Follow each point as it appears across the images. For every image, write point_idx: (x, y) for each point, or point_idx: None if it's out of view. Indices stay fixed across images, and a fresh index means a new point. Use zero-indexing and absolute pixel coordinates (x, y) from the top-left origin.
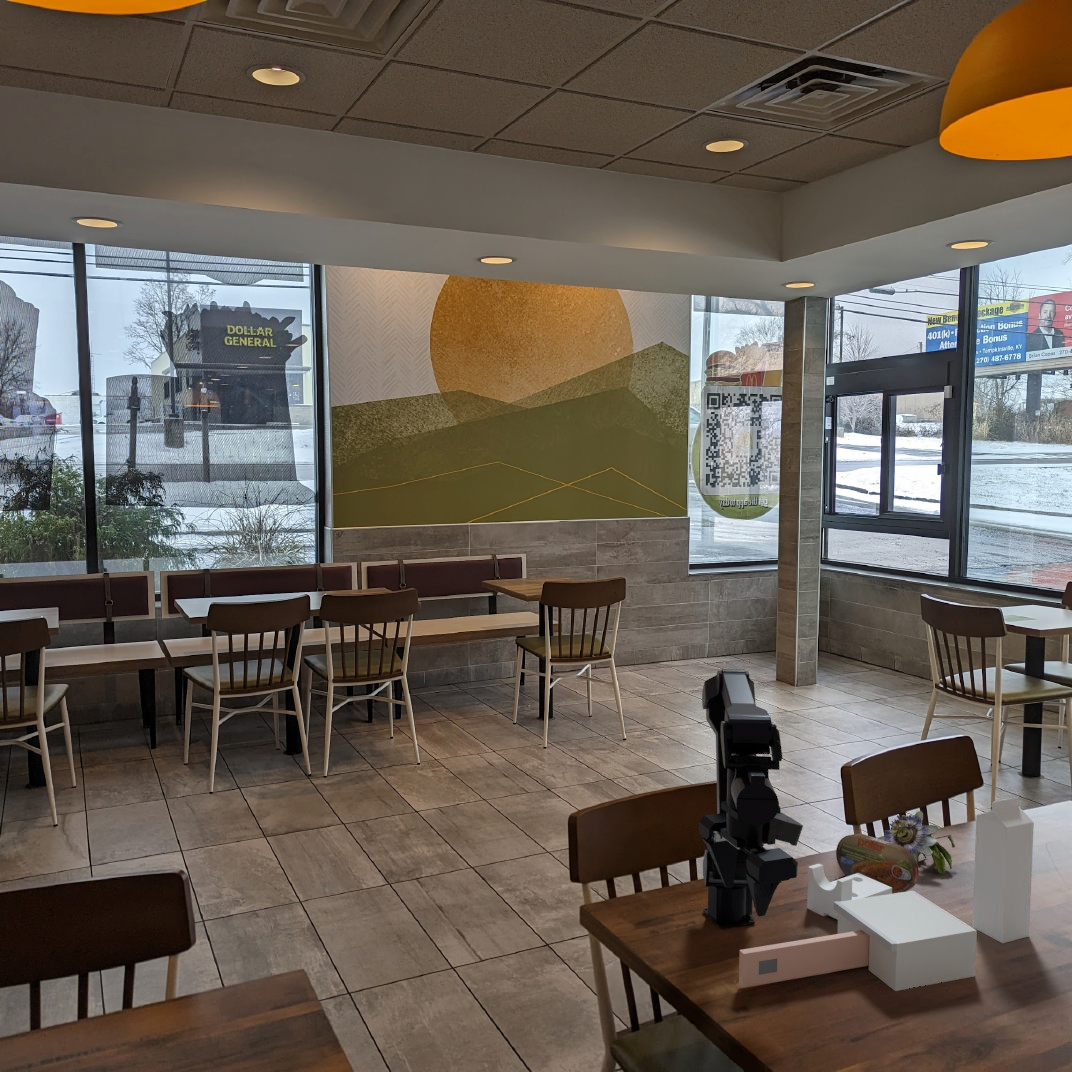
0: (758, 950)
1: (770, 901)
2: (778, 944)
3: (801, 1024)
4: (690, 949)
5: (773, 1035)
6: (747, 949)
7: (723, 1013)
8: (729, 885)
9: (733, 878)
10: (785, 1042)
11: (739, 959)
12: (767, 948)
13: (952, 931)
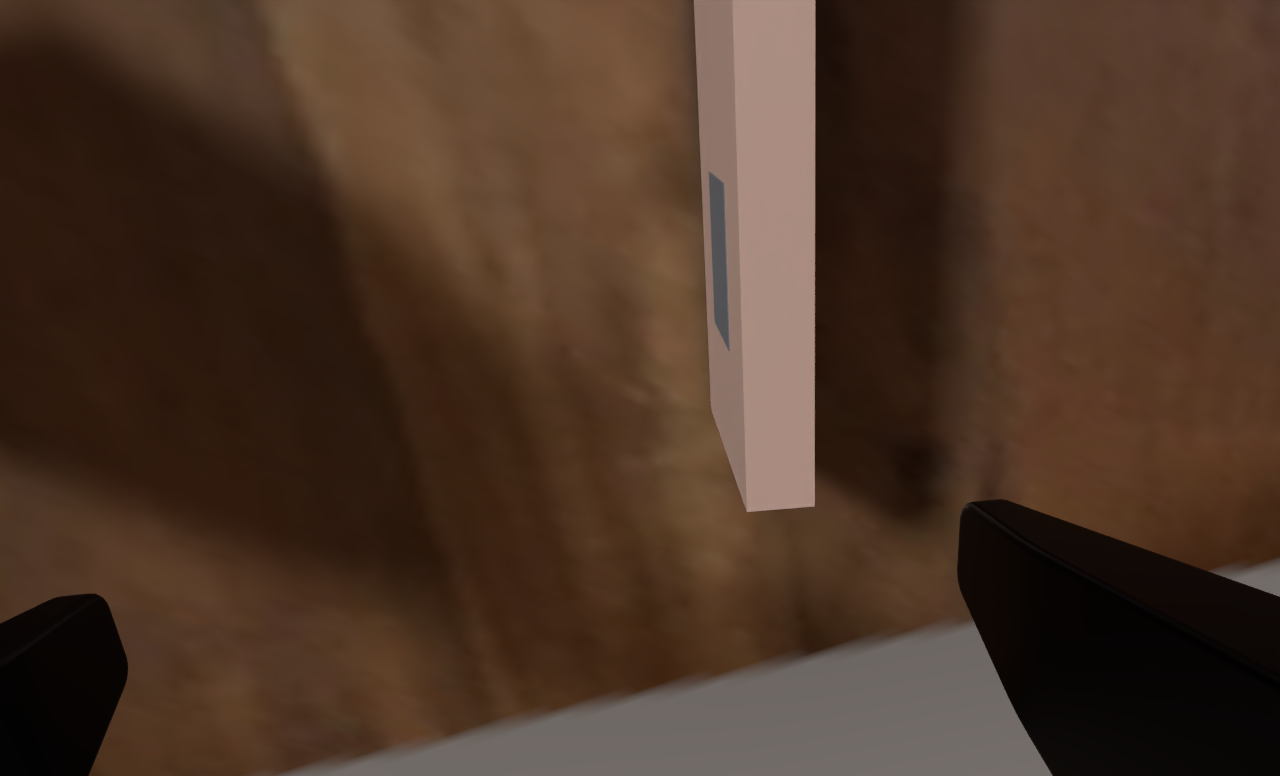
0: (798, 370)
1: (1221, 577)
2: (748, 141)
3: (1179, 220)
4: (218, 510)
5: (1195, 420)
6: (755, 448)
7: (924, 578)
8: (99, 661)
9: (15, 675)
10: (1273, 388)
11: (735, 476)
12: (788, 279)
13: None
